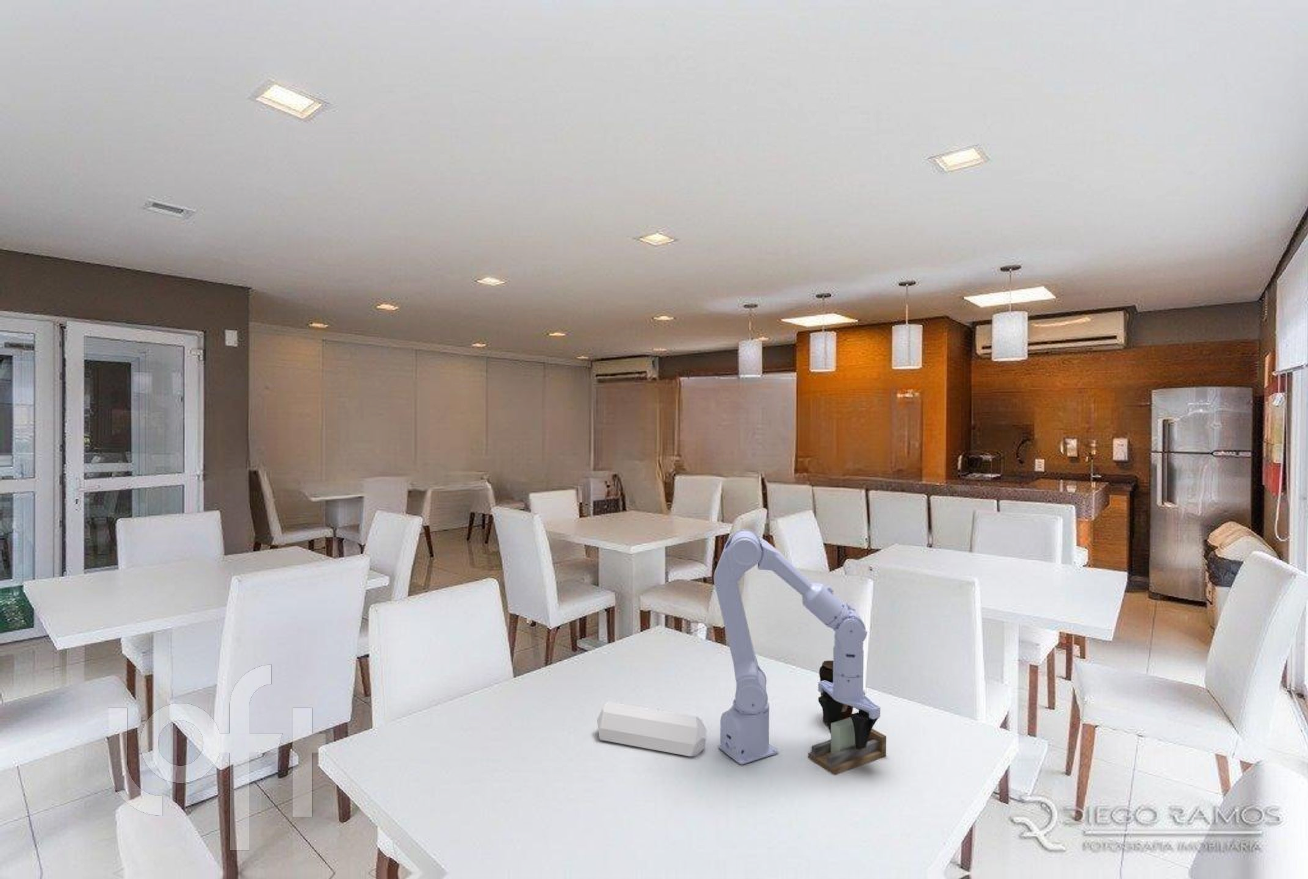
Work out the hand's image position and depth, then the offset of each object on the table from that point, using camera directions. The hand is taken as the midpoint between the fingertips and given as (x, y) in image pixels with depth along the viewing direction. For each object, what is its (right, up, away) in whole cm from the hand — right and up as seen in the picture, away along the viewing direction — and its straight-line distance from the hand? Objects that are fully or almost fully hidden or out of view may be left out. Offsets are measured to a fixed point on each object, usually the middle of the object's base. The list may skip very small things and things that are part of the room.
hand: (847, 739), depth 128 cm
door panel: (0, -2, 0) cm, 2 cm away
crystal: (-39, -4, +6) cm, 40 cm away
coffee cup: (+2, -3, +15) cm, 15 cm away
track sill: (0, -3, 0) cm, 3 cm away
